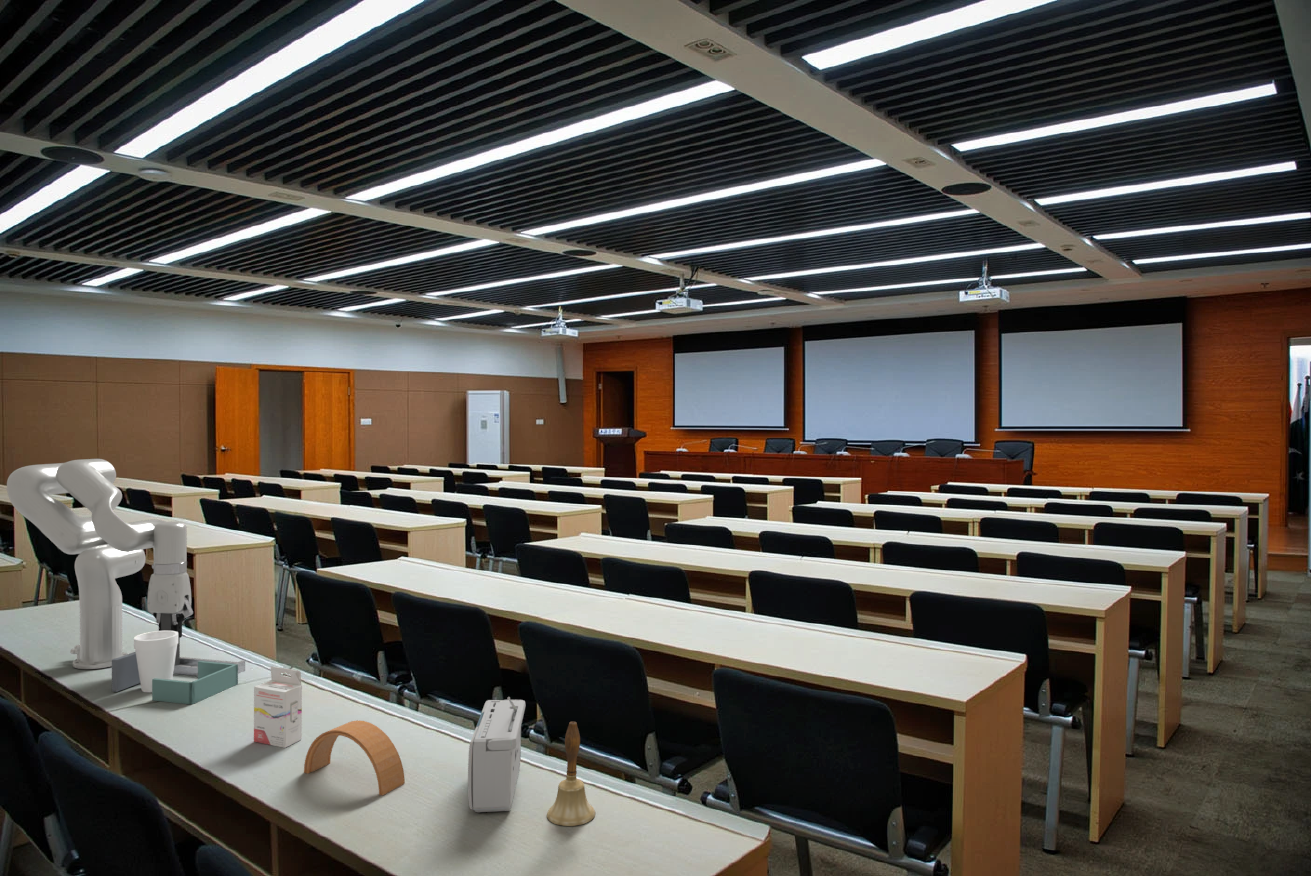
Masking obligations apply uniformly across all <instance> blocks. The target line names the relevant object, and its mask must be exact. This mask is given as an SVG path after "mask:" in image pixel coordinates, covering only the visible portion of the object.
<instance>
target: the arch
mask: <svg viewBox="0 0 1311 876" xmlns="http://www.w3.org/2000/svg"><path fill="white" fill-rule="evenodd" d="M339 736H341V737H344V738H348V739H349V740H351V741H353V742H354V743H356V744H357V746H359V747H360V748H361V750H363V752H364V753H365V754H366V756H367V757H368V759H369V760H370V763H371V764H372V767H373V770H374V773H375V776H376V779H377V784H378V786H377V787H378V795H380V796H384V795H386V794H388V793H390V792H392V791H393V790H395V789H397V788H400V787H401V786H403V785H404V784H406V781H405V778H406V777H405V772H404V771H405V770H404V766H403V762H402V759H401V757H400V755H399V751H398V750H397V748H396V746H395V744H394V743H393V742H392V740H391V739H390V737H389V736H388V735H387V733H385V732H384V730H382V729H381V728H380V727H378V726H377V725H375V724H373V723H371V722H368V721H366V720H358V719H357V720H351V721H349V722H346V723H344V724H342V725H339V726H337V727H334V728H332V729H329V730H327V731H325V732H322V733H321V734H319V735H318V736H317V737H316V738H315V739H314V740H313V741H312V743H311V744H310V746H309V748H308V749H307V753H306V756H305V758H304V764H303V767H304V768H303V774H304V773H305V774H310V773H313V772H315V771H317V770H319V769H321V768H324V767H326V766H327V765H329V764H331V755H332V751H333V748H334V745H335V742H336V741H337V739H338V738H339Z"/></svg>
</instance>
